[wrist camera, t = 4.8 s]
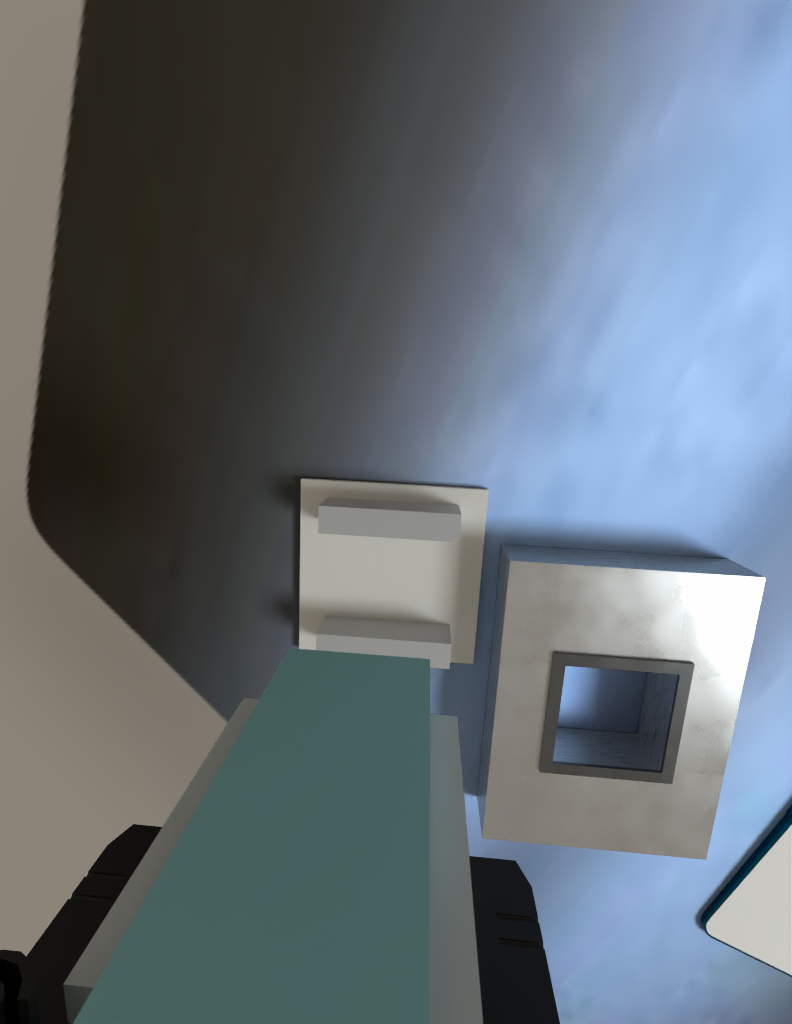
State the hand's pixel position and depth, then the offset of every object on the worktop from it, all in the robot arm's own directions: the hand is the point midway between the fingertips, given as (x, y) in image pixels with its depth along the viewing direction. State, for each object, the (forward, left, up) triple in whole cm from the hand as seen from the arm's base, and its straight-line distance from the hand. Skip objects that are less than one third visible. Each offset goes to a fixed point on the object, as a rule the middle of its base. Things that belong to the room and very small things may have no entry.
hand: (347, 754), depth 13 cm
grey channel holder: (0, 0, -15) cm, 15 cm away
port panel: (+6, +12, -15) cm, 21 cm away
